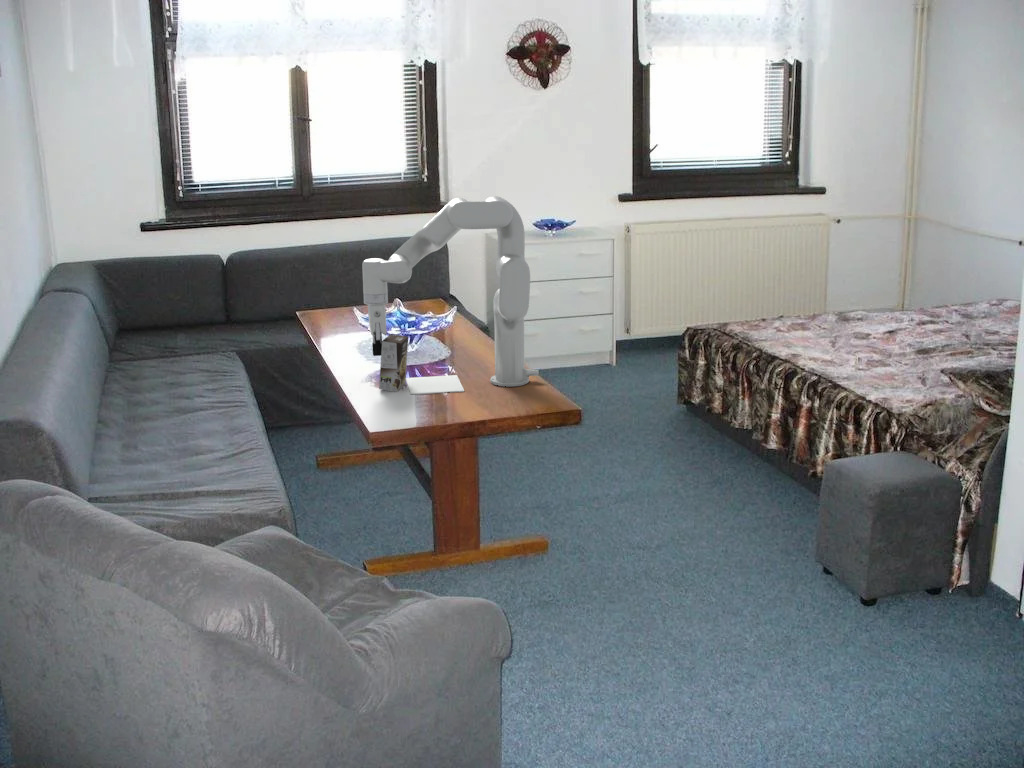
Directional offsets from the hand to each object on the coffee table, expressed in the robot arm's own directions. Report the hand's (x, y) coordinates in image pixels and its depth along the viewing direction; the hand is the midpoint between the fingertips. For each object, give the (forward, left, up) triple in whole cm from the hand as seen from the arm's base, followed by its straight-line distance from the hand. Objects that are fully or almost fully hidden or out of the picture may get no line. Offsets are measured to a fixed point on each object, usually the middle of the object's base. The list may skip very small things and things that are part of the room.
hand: (378, 354), depth 351 cm
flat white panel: (-18, 0, -11) cm, 21 cm away
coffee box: (-4, 0, -11) cm, 12 cm away
